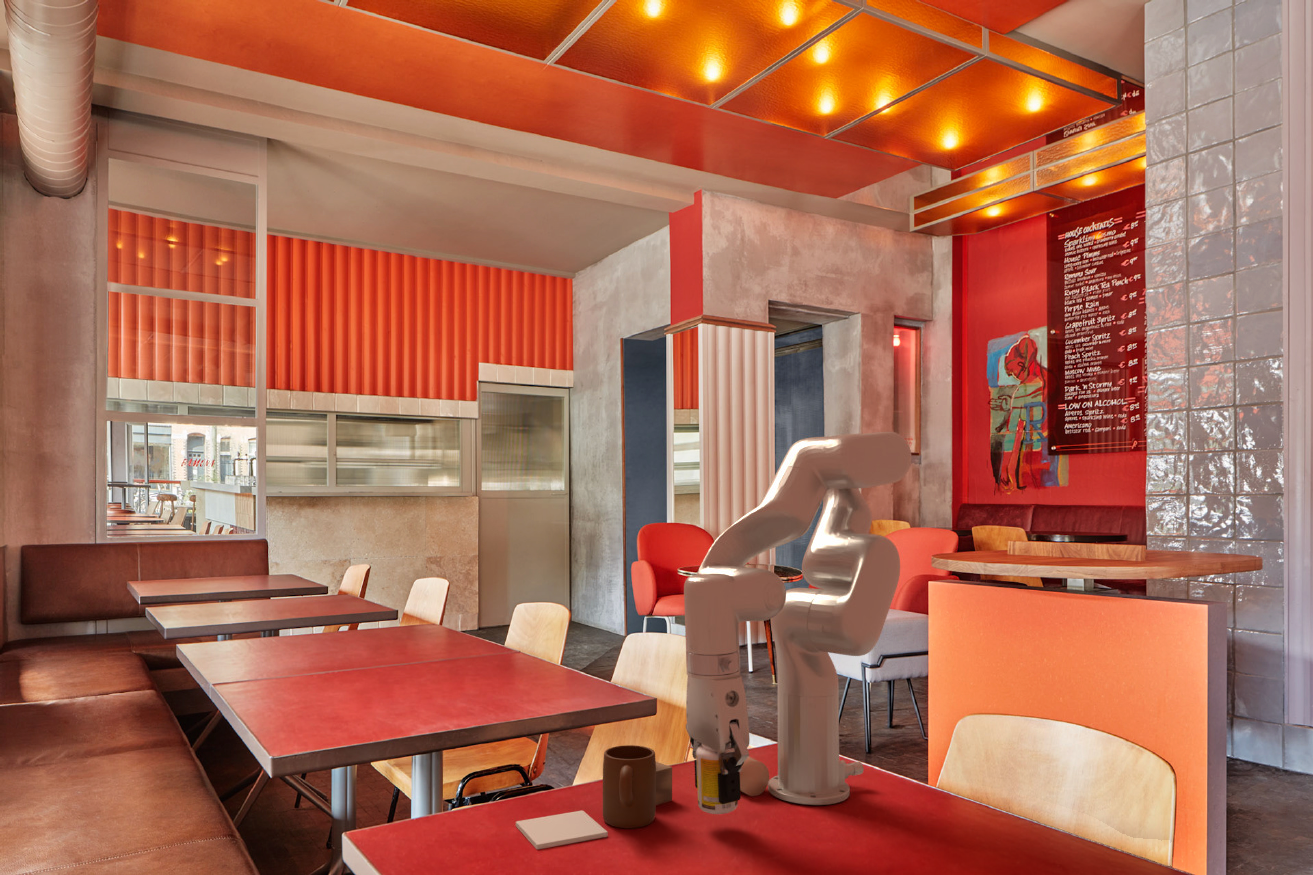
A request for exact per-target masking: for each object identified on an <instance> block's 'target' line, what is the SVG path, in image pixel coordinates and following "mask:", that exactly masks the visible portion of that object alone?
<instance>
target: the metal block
mask: <svg viewBox="0 0 1313 875" xmlns="http://www.w3.org/2000/svg"><path fill="white" fill-rule="evenodd" d="M671 801H673V767H672V766H670V765H668V764H664V763H661V762H658V761H656V806H659V805H661V804H665V803H668V802H671Z"/></svg>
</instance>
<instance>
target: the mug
mask: <svg viewBox="0 0 1313 875" xmlns="http://www.w3.org/2000/svg"><path fill="white" fill-rule="evenodd" d="M656 762H657V761H656V753H655V751H654V749H653V748H650V747H647V746H642V745H633V744H630V745H629V744H627V745H625V744H624V745H617V746H613V747H609V748H607V749H605V751H604V753H603V761H602V818H603V820H604V821H605V823H606V824H607V825H609V826H611V827H614V828H615V827H616V828H618V829H637V828H643V827H646V826H648V825H651V823H653V822H654V820H655V818H656V806H657V805H656Z"/></svg>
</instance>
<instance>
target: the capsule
mask: <svg viewBox="0 0 1313 875" xmlns="http://www.w3.org/2000/svg"><path fill="white" fill-rule="evenodd" d="M769 780H770V772H769V769H768V766H766V764H764V763H763V762H762V761H759V760H757V759H755V758H753V757H751V756H748V758H747V759H746V760H745V761H744V764H743V765H742V771H741V772H740V792H742V793H744V794H745V795H747V796H750V797H755V796H756V797H757V796H759V795H761V794H762V793H764V792H765V790H766V789H767V788H768V782H769Z"/></svg>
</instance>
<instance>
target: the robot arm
mask: <svg viewBox="0 0 1313 875" xmlns="http://www.w3.org/2000/svg"><path fill="white" fill-rule="evenodd" d="M911 451H912V450H911V447H910V445H909V443H908V441H907V440H906V439H905V437H903V435H901V434H900V433H898V432H896V431H895V432H894V431H881V432H880V431H878V432H866V433H863V432H862V433H850V434H848V433H847V434H837V435H831V436H829V435H827V436H816V437H815V436H813V437H807V438H802V439H799V440H797V441H796V442H794V443H792V445H791V446H790V447H789V448H788V451H787V452H786V454H785V456H784V458H783V459H782V461H781V464H780V465H779V468H778V469H777V470H776V473H775V475H774V477H773V478H772V481H771V482H770V484H769V486H768V488H767V490H766V492H765V494H764V495H763V498H762V499H761V501H760V503H759V504H758V505H757V506H756V507H754V508H753V509H752V510H750V511H749V512H747V513H746V514H744V515H743V516H742V517H741V518H739V519H738V520H737V521H735V522H734V523H733V524H732V525H730V526H729V527H728V528H727V529H725V530H724V531H723V532H722V533H721V534H720V535H719V536H718V537H717V538H716V539H715V540H714V542H713V543H712V544H711V546H710V548H709V549H708V551H707V552H706V555H705V557H704V558H703V560H702V562H701V564H700V565H699V568H698V570H697V572H696V574H692V575H690V576H688V577H687V578H685V581H684V585H683V599H684V628H685V634H684V635H685V660H686V661H685V663H686V667H685V668H686V675H687V681H686V697H685V698H686V699H685V700H686V701H685V702H686V705H685V706H686V707H685V708H686V710H685V711H686V713H685V714H686V715H685V716H686V725H685V730H686V732H687V733H688V734H687V735H688V736H689V742H690V743H691V747H692V752H691V753H692V757H693V759H694V760H693V761H694V762H693V763H694V785H695V786H694V787H695V788H696V789H697V761H696V751H697V748H698V747H699V746H701V745H702V744H704V745H706V746H708V747H709V748H711V749H713V750H715V751H717V756H718V761H719V766H720V771H721V773H718V796H719V802H720V803H721V804H726V803H730V802H734V801H740V800H741V798H742V797H741V796H742V795H741V791H740V772H741V771H742V765H743V764H744V761H745V760H746V759H747V758H748V756H749V755H750V752H749V749H748V747H749V745H750V742H751V741H750V723H749V714H748V713H749V712H748V705H747V704H748V703H747V697H746V690H745V684H744V682H743V677H742V675H741V657H740V655H741V654H740V651H741V650H740V631H739V630H740V629H739V628H740V626H739V624H740V623H741V622H763V621H768V620H770V624H771V625H770V626H771V631H772V636H773V641H774V646H775V653H776V655H775V656H776V666H777V667H776V669H777V775H775V776H773V777H771V778H769V782H768V785H767V790H768V792H769V793H770V794H771V795H772V796H773V797H775V798H778V799H779V800H781V801H782V800H783V801H786V802H789V803H791V804H792V803H793V804H799V805H807V806H808V805H810V806H824V805H826V806H827V805H835V804H838V803H841V802H844V801H845V800H846V799H848V798H849V796H850V793H851V791H850V785H849V784H848V783H847V782H846V781H845V780H847V779H848V778H849V776H858V775H862V774H863V773H864V770H865V769H864V766H863V764H862V762H861V761H855V762H854V761H853V762H848V763H847V762H846V761H845V760H844V759H842V760H841V759H840V723H839V721H840V718H839V716H840V715H839V714H840V712H839V711H840V710H839V709H840V708H839V707H840V706H839V705H840V704H839V703H840V702H839V701H840V700H839V698H840V697H839V693H840V692H839V691H840V689H839V686H840V685H839V684H840V683H839V677H838V672H837V668H836V666H835V664H834V662H833V660H832V658H831V656H830V655H829V654H835V655H836V654H837V655H844V656H850V657H861V656H862V657H863V656H865V655H867V654H869V653H870V652H871V651H872V650H873V649H875V646H876V645H877V643H878V641H879V639H880V636H881V633H882V631H883V629H884V626H885V623H886V619H887V617H888V614H889V612H890V609H891V605H892V603H893V600H894V597H895V593H896V590H897V587H898V584H899V581H900V580H899V579H900V575H901V559H900V555H899V551H898V548H897V547H896V545H895V544H894V542H893V541H892V540H890V539H889V538H888V537H885V536H883V535H880V534H875V533H874V534H873V533H870V532H869V531H870V529H871V526H872V523H873V522H872V521H873V514H872V511H871V509H870V506H869V504H868V502H867V500H866V498H865V497H864V496H863V494H862V493H861V491H860V489H867V488H875V487H879V486H885V485H891V484H895V483H897V482H900V481H901V480H902V479H903V478H904V477H906V475H907V474H908V472H909V471H910V468H911V464H912V452H911ZM821 505H822V509H821V512H820V515H819V518H818V520H817V523H816V526H815V528H814V530H813V533H812V535H811V538H810V540H809V542H808V545H807V547H806V551H805V552H804V556H803V559H802V563H801V573H802V576H803V578H804V580H805V581H806V582H807V583H808V584H809V585H810V586H812V587H814V588H812V587H811V588H810V587H795V588H790V589H786V586H785V583H784V581H783V580H782V578H781V577H780V576H779V575H778V574H776V573H775V572H773V571H771V570H768V569H764V568H757V567H745V566H746V565H747V564H748V563H749V562H750V561H751V560H753V559H754V558H755V557H757V556H759V555H760V554H762V553H764V552H767V551H769V550H772V549H774V548H777V547H780V546H783V545H785V544H788V543H791V542H792V541H795V540H797V539H799V538H802V536H804V535H805V534H806V533H807V532H808V531H809V529H810V528H811V526H812V523H813V521H814V519H815V517H816V516H817V515H816V514H817V513H818V511H819V509H820V507H821ZM726 744H730V745H731V748H728V749H726V748H725V745H726ZM728 753H731V754H732V757H730V758H729V760H728V761H727V763H726V758H725V754H728ZM749 757H750V756H749Z"/></svg>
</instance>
